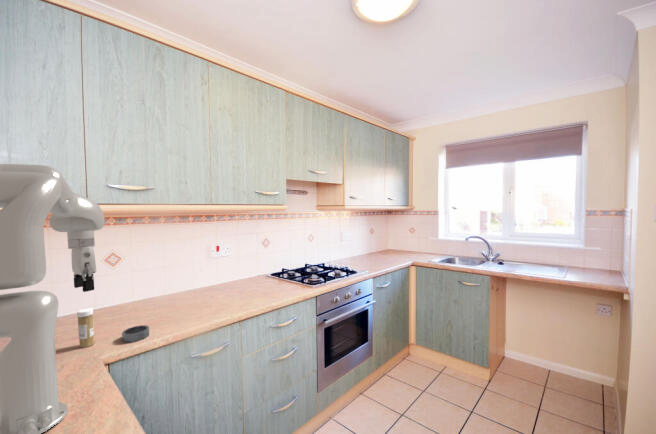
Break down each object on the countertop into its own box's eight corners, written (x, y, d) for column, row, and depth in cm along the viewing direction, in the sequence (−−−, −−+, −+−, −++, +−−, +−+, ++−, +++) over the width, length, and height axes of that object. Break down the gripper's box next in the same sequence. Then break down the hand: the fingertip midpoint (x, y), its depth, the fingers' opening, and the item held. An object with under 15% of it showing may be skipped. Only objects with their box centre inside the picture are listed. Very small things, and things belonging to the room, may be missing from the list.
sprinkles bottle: (97, 343, 108) (95, 308, 107) (83, 349, 103) (81, 312, 103) (90, 341, 110) (88, 307, 109) (76, 346, 105) (74, 311, 105)
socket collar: (153, 335, 113) (152, 328, 113) (128, 344, 106) (127, 336, 106) (143, 330, 118) (142, 323, 118) (119, 339, 111) (118, 331, 111)
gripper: (102, 243, 104) (104, 289, 104) (86, 241, 113) (88, 283, 114) (75, 246, 97) (78, 295, 98) (61, 243, 107) (64, 287, 108)
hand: (84, 288), depth 106 cm, fingers open, 9 cm apart
